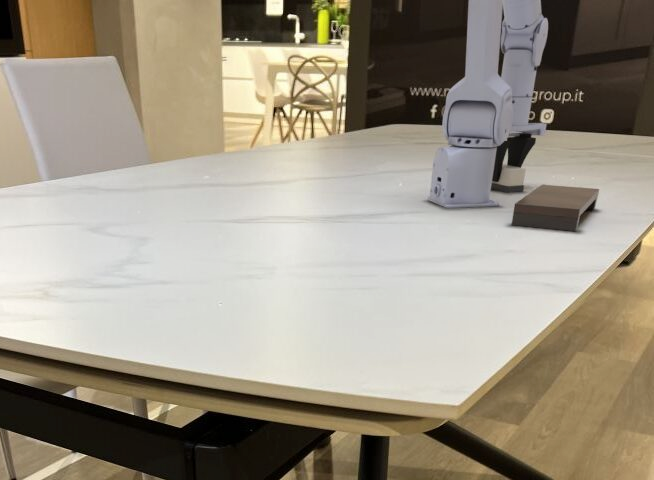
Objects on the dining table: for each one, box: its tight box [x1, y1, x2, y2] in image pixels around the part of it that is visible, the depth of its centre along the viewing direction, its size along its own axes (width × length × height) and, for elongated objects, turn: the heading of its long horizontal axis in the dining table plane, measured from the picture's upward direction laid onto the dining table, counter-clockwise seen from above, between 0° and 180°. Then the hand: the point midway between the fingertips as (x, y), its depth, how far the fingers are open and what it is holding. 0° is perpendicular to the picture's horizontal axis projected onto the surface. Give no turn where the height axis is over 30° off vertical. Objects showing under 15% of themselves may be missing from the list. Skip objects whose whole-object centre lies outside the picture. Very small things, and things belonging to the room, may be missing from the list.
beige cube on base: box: [491, 163, 526, 193], centre depth 136 cm, size 8×4×4 cm, turn 24°
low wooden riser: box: [511, 184, 600, 232], centre depth 114 cm, size 20×9×3 cm, turn 152°
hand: (502, 180), depth 136 cm, fingers closed on beige cube on base, 3 cm apart
